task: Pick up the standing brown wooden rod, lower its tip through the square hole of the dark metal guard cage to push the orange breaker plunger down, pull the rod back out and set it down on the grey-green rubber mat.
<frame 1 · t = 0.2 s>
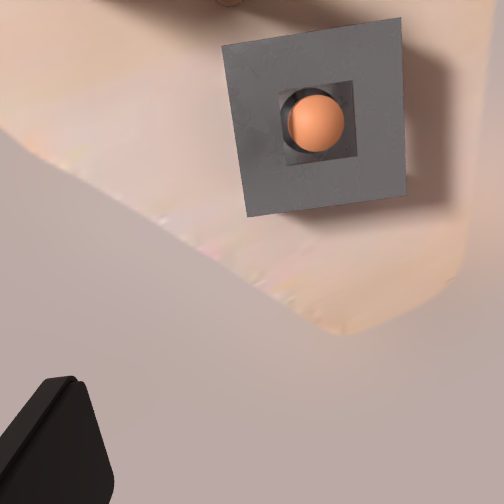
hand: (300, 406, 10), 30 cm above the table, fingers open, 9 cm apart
breaker plunger: (314, 123, 33), point 4 cm above the table, slide at 0.0 cm
guard cage: (309, 121, 37), on the table
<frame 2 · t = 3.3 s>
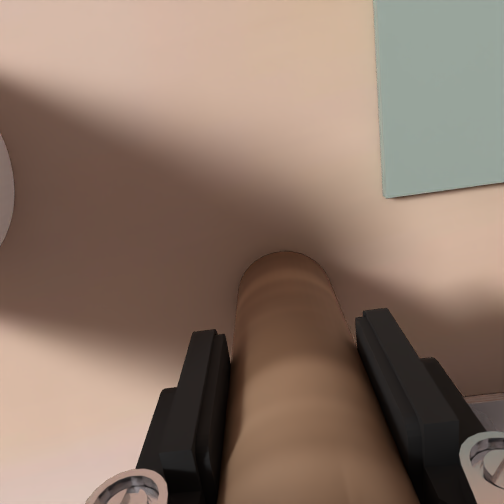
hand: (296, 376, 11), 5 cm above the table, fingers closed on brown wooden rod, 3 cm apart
brown wooden rod: (284, 295, 15), on the table, touching gripper
mat: (500, 40, 12), on the table
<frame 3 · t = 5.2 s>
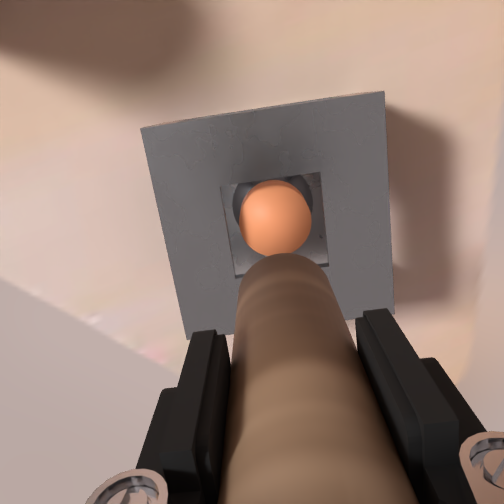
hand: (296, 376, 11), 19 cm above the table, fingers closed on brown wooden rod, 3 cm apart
brown wooden rod: (284, 297, 15), point 15 cm above the table, touching gripper
breaker plunger: (274, 217, 25), point 4 cm above the table, slide at 0.0 cm
guard cage: (272, 202, 29), on the table
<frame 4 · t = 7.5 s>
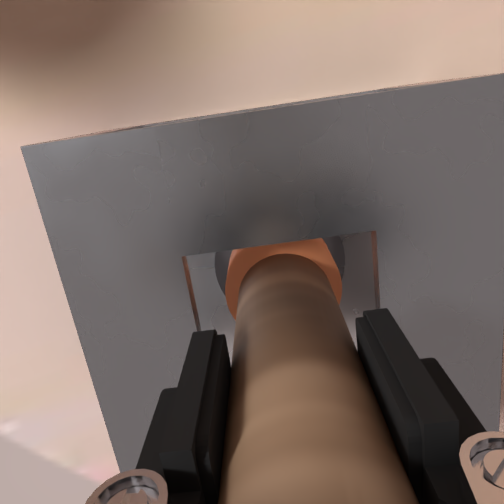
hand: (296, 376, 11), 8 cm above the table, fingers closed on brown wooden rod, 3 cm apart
brown wooden rod: (284, 297, 15), point 3 cm above the table, touching breaker plunger, gripper
breaker plunger: (281, 279, 16), point 2 cm above the table, slide at 1.7 cm, touching brown wooden rod
guard cage: (278, 258, 18), on the table
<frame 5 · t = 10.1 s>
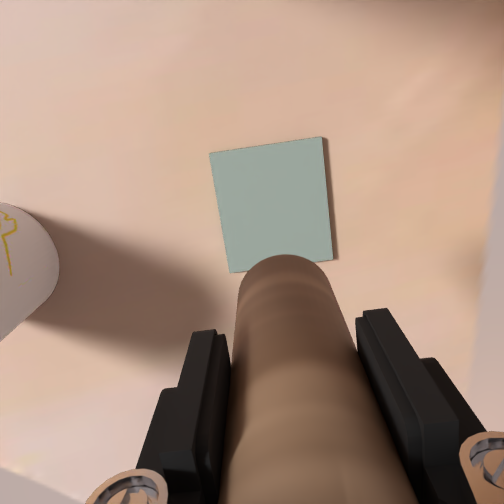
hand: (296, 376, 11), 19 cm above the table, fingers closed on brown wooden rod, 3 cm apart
brown wooden rod: (284, 298, 15), point 14 cm above the table, touching gripper
mat: (273, 207, 29), on the table
cup: (1, 258, 30), on the table
when the fingers open (6 cm above the table, at t = 12.3 s): brown wooden rod drops 1 cm, resting on mat.
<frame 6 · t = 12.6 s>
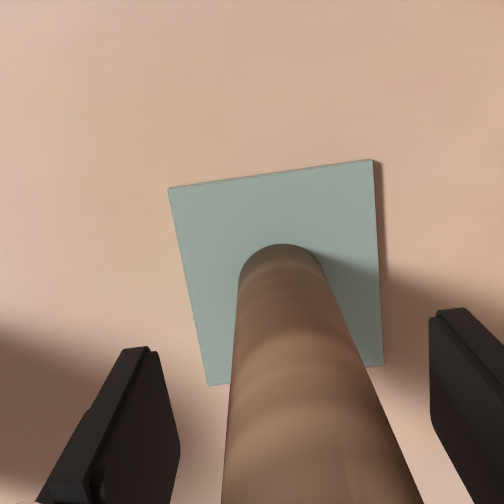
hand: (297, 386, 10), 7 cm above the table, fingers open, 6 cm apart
brown wooden rod: (281, 285, 16), resting on mat
mat: (282, 279, 16), on the table
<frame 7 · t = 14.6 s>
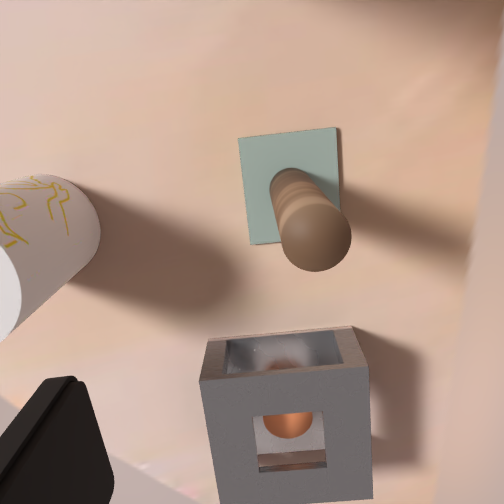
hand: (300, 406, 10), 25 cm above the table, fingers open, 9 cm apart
brown wooden rod: (290, 189, 32), resting on mat
breaker plunger: (287, 409, 36), point 2 cm above the table, slide at 1.7 cm
mat: (291, 187, 33), on the table
guard cage: (285, 393, 38), on the table
cup: (49, 226, 34), on the table
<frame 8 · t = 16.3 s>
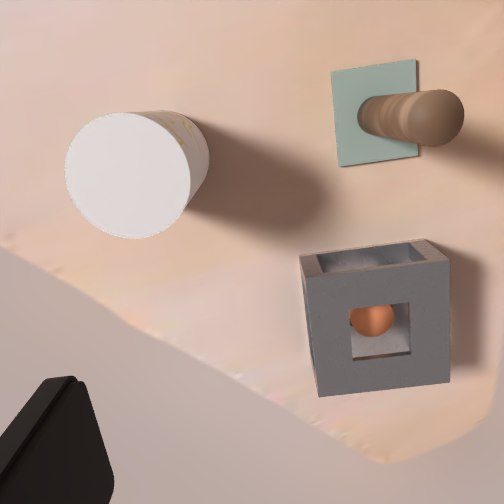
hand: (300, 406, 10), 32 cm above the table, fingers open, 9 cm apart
brown wooden rod: (375, 115, 38), resting on mat
breaker plunger: (370, 313, 42), point 2 cm above the table, slide at 1.7 cm
mat: (374, 114, 38), on the table
guard cage: (364, 303, 44), on the table
cup: (165, 157, 40), on the table
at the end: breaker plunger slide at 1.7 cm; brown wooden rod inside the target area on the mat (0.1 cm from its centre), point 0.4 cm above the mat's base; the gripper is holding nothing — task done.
